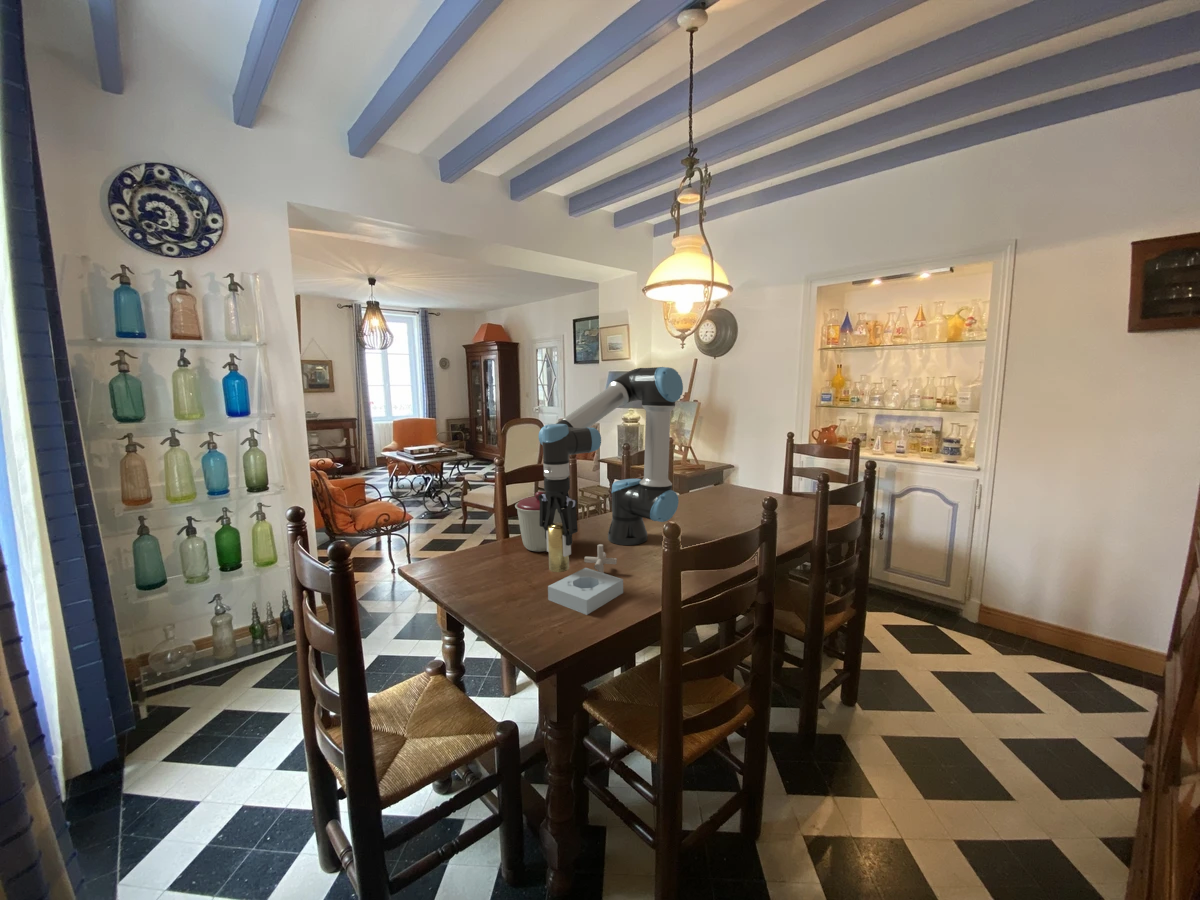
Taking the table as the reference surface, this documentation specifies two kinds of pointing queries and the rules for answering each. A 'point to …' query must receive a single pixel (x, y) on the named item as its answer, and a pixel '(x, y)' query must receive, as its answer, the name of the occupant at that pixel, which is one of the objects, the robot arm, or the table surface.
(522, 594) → the table surface
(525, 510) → the canister
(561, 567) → the gold metal cylinder
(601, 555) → the pipe connector
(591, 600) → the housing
